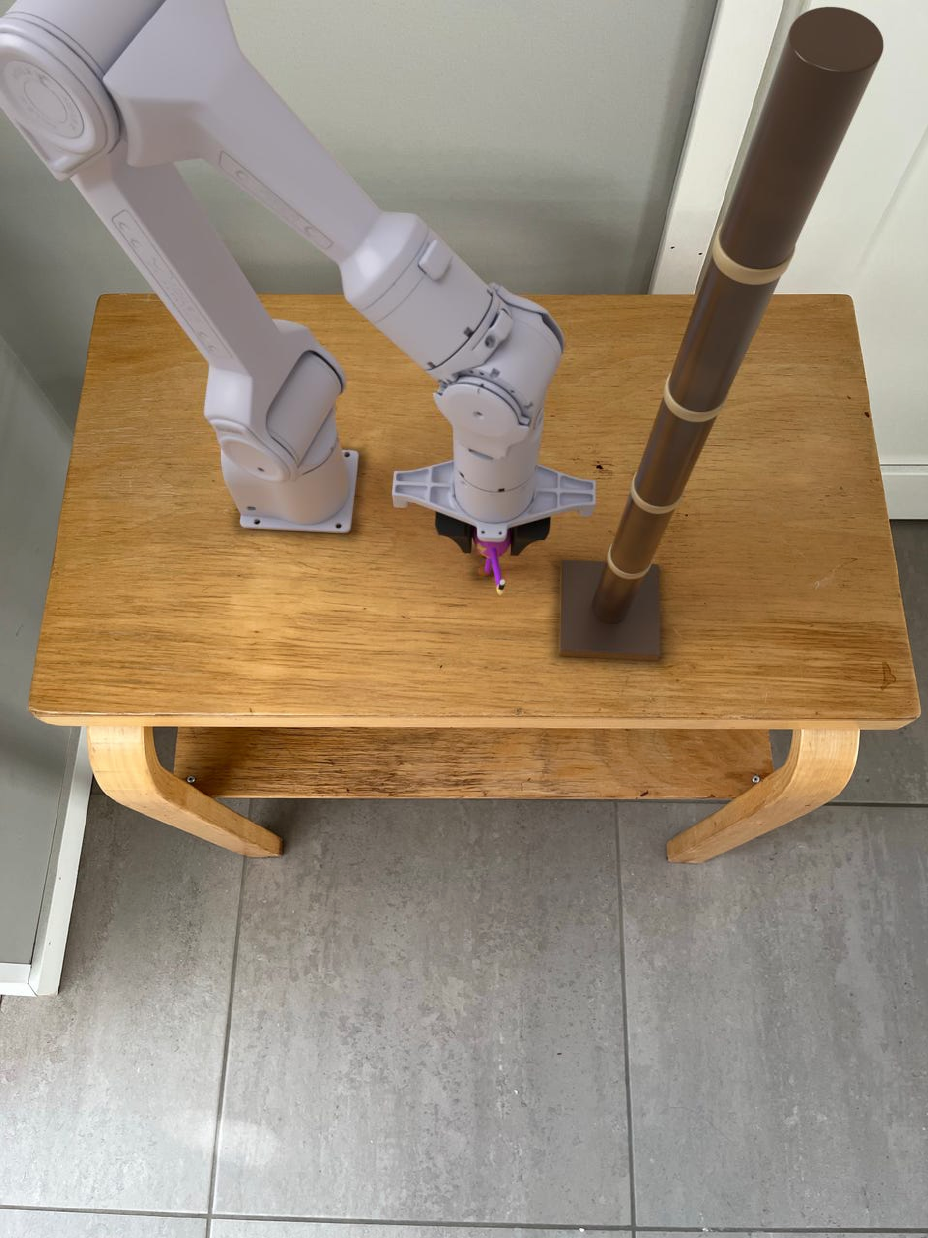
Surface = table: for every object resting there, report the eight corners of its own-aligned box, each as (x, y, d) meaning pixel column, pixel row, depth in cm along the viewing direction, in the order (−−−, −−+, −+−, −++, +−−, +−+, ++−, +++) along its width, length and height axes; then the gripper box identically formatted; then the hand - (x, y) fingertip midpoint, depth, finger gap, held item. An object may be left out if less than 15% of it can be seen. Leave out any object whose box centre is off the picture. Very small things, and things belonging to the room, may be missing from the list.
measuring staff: (558, 656, 74) (716, 125, 28) (560, 566, 77) (705, -51, 31) (657, 661, 74) (982, 136, 28) (655, 571, 77) (947, -43, 30)
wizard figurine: (461, 507, 79) (461, 431, 68) (497, 502, 79) (503, 425, 68) (481, 627, 75) (485, 567, 64) (519, 622, 75) (530, 561, 64)
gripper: (382, 502, 60) (397, 584, 73) (604, 513, 60) (580, 593, 72) (391, 411, 62) (404, 505, 75) (604, 420, 62) (581, 514, 75)
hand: (491, 543), depth 74 cm, fingers closed on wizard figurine, 3 cm apart
